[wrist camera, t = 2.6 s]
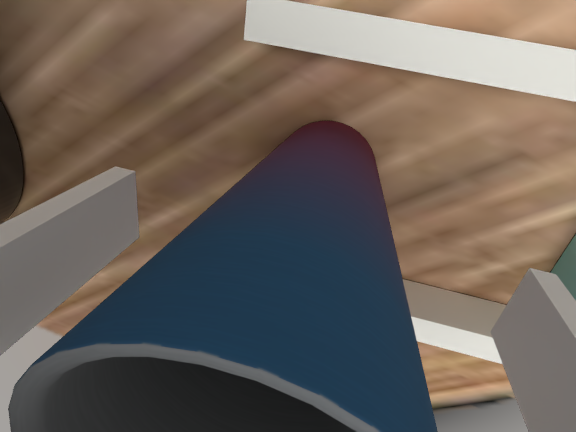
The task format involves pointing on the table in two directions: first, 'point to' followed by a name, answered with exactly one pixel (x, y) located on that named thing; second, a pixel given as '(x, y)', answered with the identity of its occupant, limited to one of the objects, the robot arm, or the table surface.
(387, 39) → the bay
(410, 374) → the cup
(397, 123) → the table surface
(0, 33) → the table surface
